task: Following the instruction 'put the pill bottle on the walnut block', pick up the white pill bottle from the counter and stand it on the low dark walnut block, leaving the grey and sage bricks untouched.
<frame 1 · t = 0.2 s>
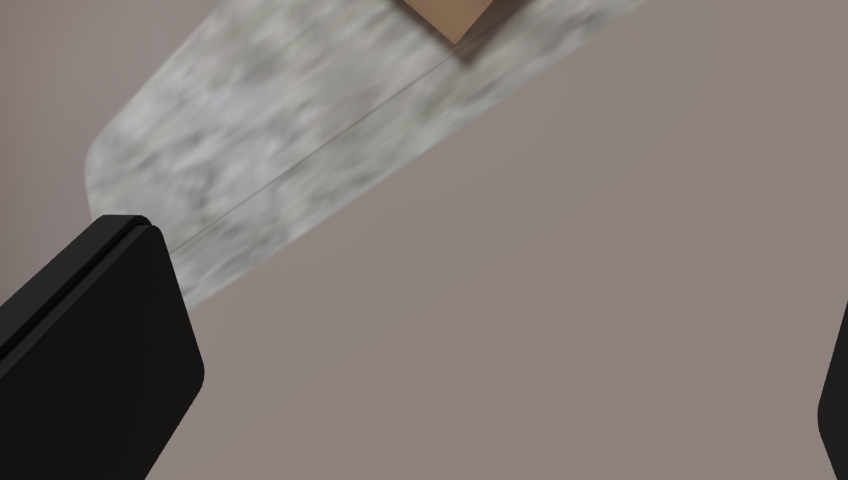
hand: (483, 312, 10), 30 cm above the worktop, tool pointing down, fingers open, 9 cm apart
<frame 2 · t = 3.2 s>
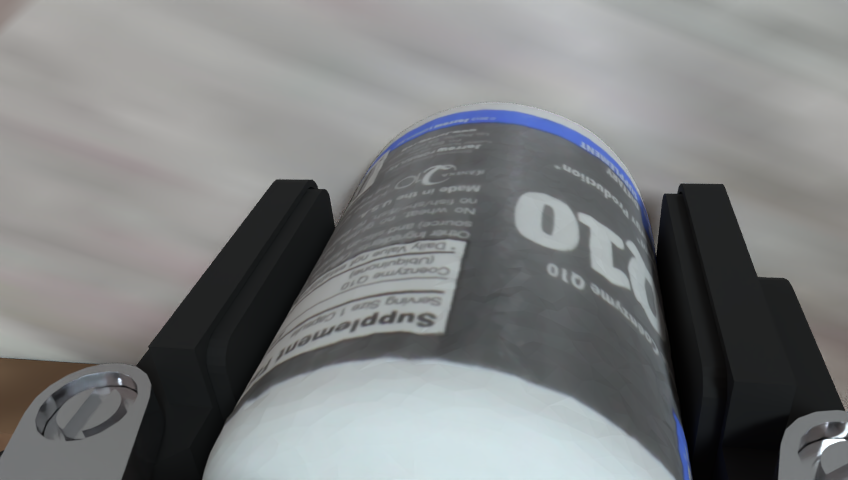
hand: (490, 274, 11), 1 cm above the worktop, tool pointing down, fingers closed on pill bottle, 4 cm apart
pill bottle: (499, 225, 12), on the worktop, touching gripper
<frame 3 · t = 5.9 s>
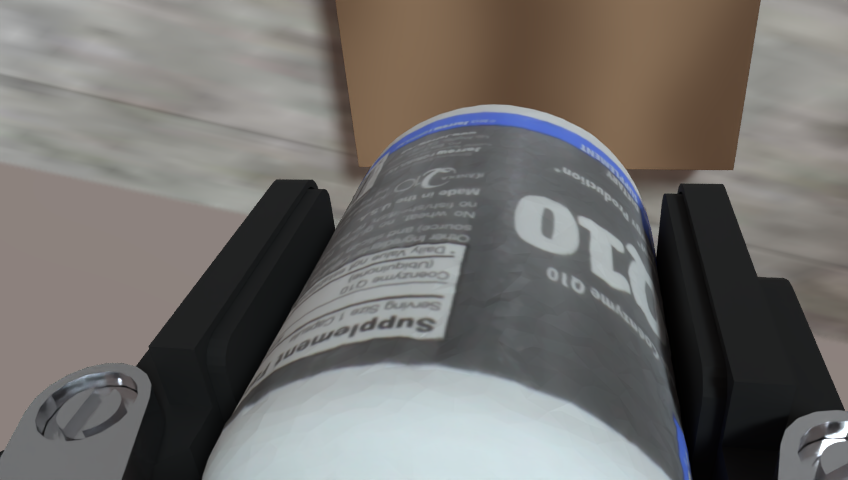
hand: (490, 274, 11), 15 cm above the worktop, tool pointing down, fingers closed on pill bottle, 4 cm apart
walnut block: (540, 11, 23), on the worktop
pill bottle: (498, 227, 12), point 13 cm above the worktop, touching gripper
when the fingers open (4 cm above the worktop, at t = 8.6 s): pill bottle stays where it is, resting on walnut block.
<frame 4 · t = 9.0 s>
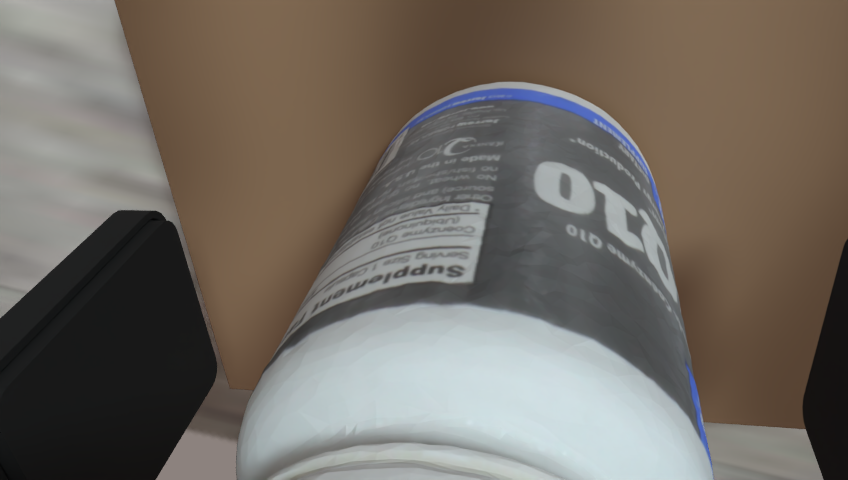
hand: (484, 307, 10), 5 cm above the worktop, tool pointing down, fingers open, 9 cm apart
walnut block: (510, 162, 14), on the worktop
pill bottle: (512, 203, 12), point 2 cm above the worktop, touching walnut block
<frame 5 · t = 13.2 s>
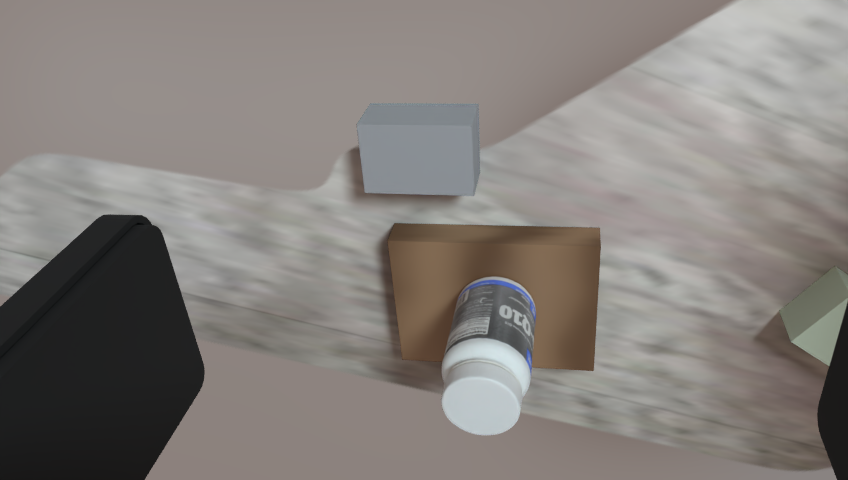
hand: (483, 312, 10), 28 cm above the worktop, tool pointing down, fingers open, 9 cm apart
walnut block: (496, 288, 44), on the worktop
pill bottle: (496, 304, 43), point 2 cm above the worktop, touching walnut block
grey brick: (426, 137, 40), on the worktop
sage brick: (845, 313, 41), on the worktop
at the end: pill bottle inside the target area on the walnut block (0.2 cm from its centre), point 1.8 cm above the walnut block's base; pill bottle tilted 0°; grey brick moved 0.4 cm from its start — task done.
